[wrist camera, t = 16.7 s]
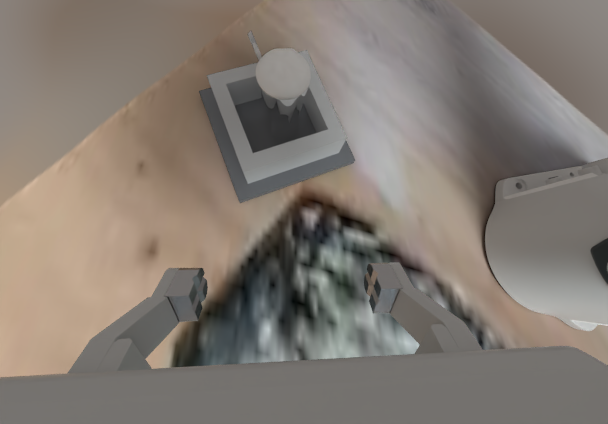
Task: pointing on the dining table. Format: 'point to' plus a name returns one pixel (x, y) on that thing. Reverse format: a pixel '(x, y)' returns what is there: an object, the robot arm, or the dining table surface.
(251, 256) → the dining table surface
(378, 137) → the dining table surface
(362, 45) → the dining table surface
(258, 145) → the sleeve housing
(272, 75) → the milkshake
